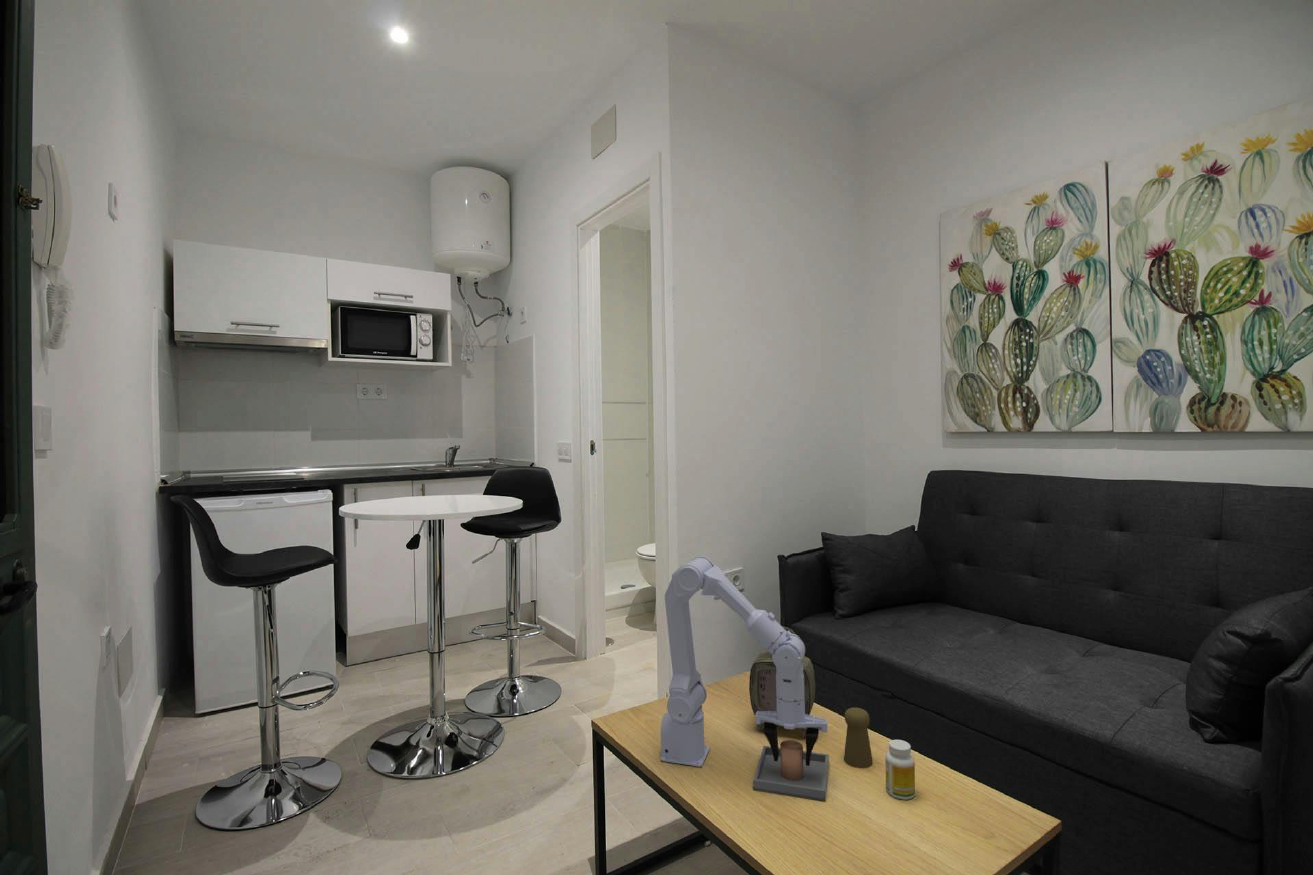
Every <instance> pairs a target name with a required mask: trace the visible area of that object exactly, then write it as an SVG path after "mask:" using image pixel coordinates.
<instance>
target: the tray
mask: <svg viewBox="0 0 1313 875" xmlns="http://www.w3.org/2000/svg"><path fill="white" fill-rule="evenodd" d="M778 749H779V757H778V761H774V757H773V753H772V749H771V746H770V745H769V746H768V745H763V746H762V750H761V753H760V756H759V759H758V762H757V767H756V770H755V773H754V777H753V780H752V781H753V782H752V784H753V786H752V787H753V791H757V792H758V791H759V792H765V793H771V794H777V795H783V796H791V797H795V798H801V799H808V800H814V801H820V802H826V799H827V789H828V787H827V786H828V778H829V777H828V776H829V767H830V756H829V754H828V753H822V752H821V753H819V752H813V751H812V753H811V757H810V765H809V766H806V750H805V751H804V750H803V771H804V776H803V778H802V779H800V780H796V781H793V780H788V779H785V778H784V777H783V776H782V775H781V753H780V747H778Z"/></svg>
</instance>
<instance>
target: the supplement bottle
mask: <svg viewBox="0 0 1313 875" xmlns="http://www.w3.org/2000/svg"><path fill="white" fill-rule="evenodd" d="M911 749H912V746H911V744H910V743H909V742H907V741H905V740H902V739H892V740H890V741H889V742H888V751H887V752H886V753H885V757H884V758H885V789H886V792H887V793H888V795H890V796H891V797H893V798H895V799H899V800H903V801H905V800H906V801H907V800H911V799H912V798H914V797H915V795H916V775H915V773H916V770H915V769H916V768H915V766H916V762H915V758H914V757H913V755H912V754H911V753H912V750H911Z"/></svg>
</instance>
